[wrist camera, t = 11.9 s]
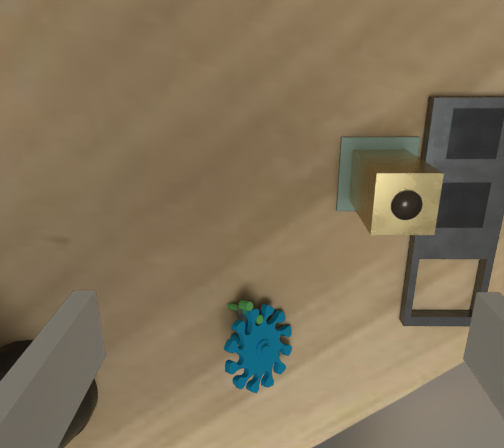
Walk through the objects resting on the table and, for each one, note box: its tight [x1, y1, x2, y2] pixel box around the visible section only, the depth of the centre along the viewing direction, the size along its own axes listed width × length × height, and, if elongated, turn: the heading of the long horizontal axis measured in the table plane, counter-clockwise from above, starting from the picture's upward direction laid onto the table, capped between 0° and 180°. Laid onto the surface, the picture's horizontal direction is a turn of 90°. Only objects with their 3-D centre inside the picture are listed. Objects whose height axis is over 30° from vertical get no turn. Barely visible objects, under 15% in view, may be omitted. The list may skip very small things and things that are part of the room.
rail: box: [399, 96, 504, 326], centre depth 47 cm, size 9×26×2 cm, turn 0°
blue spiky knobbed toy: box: [224, 300, 292, 393], centre depth 52 cm, size 11×6×10 cm
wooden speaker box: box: [349, 149, 444, 235], centre depth 41 cm, size 6×6×10 cm
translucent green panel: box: [336, 137, 420, 211], centre depth 46 cm, size 8×8×1 cm
